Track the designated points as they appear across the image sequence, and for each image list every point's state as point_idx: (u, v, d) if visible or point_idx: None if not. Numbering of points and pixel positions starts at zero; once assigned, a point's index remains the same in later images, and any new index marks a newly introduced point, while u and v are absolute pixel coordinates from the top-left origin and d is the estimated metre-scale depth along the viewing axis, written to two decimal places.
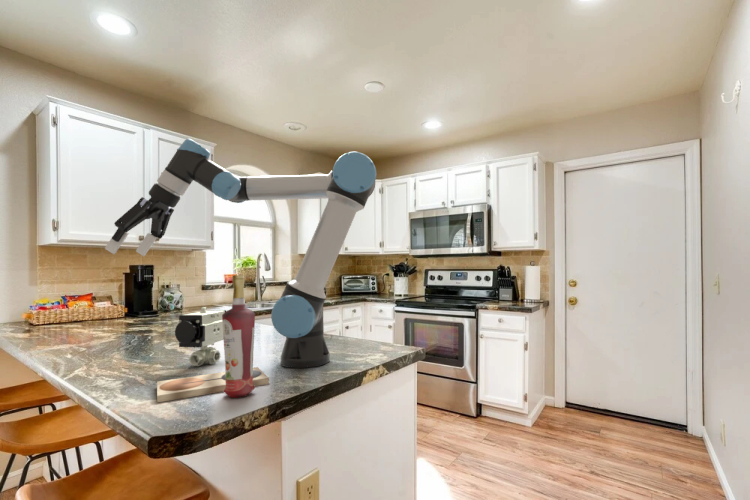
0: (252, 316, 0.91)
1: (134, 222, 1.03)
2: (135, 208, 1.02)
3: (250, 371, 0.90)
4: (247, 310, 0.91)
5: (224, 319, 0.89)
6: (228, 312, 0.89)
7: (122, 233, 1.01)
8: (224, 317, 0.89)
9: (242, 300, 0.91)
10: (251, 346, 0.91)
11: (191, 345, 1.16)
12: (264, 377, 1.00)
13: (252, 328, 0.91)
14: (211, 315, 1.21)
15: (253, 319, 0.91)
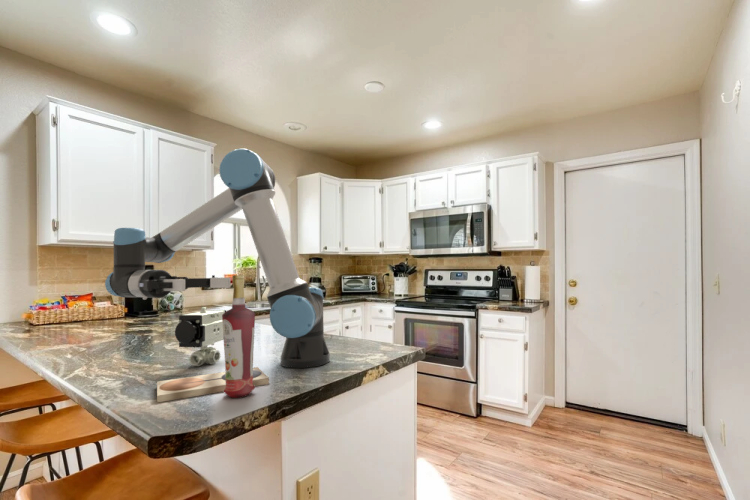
0: (252, 316, 0.91)
1: None
2: (144, 286, 0.94)
3: (250, 371, 0.90)
4: (247, 310, 0.91)
5: (224, 319, 0.89)
6: (228, 312, 0.89)
7: (162, 282, 0.91)
8: (224, 317, 0.89)
9: (242, 300, 0.91)
10: (251, 346, 0.91)
11: (191, 345, 1.16)
12: (264, 377, 1.00)
13: (252, 328, 0.91)
14: (211, 315, 1.21)
15: (253, 319, 0.91)
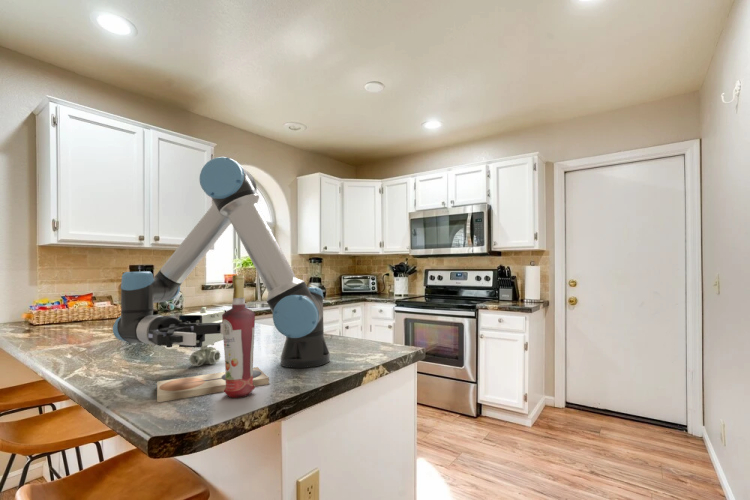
0: (252, 316, 0.91)
1: None
2: (153, 338, 0.92)
3: (250, 371, 0.90)
4: (247, 310, 0.91)
5: (224, 319, 0.89)
6: (228, 312, 0.89)
7: (172, 335, 0.88)
8: (224, 317, 0.89)
9: (242, 300, 0.91)
10: (251, 346, 0.91)
11: None
12: (264, 377, 1.00)
13: (252, 328, 0.91)
14: (211, 315, 1.21)
15: (253, 319, 0.91)
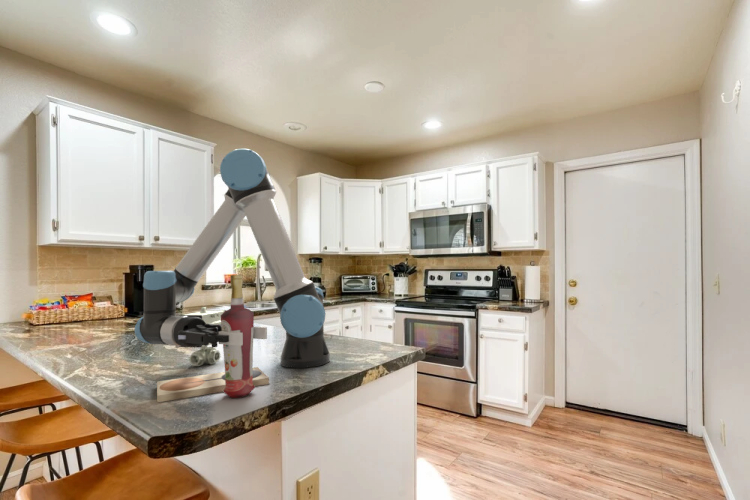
0: (251, 316, 0.90)
1: (207, 333, 0.89)
2: (188, 339, 0.89)
3: (249, 371, 0.90)
4: (246, 310, 0.90)
5: (223, 320, 0.88)
6: (226, 312, 0.89)
7: (218, 335, 0.87)
8: (223, 318, 0.88)
9: (240, 300, 0.90)
10: (251, 346, 0.90)
11: None
12: (264, 377, 1.00)
13: (251, 328, 0.90)
14: (211, 315, 1.21)
15: (252, 319, 0.91)
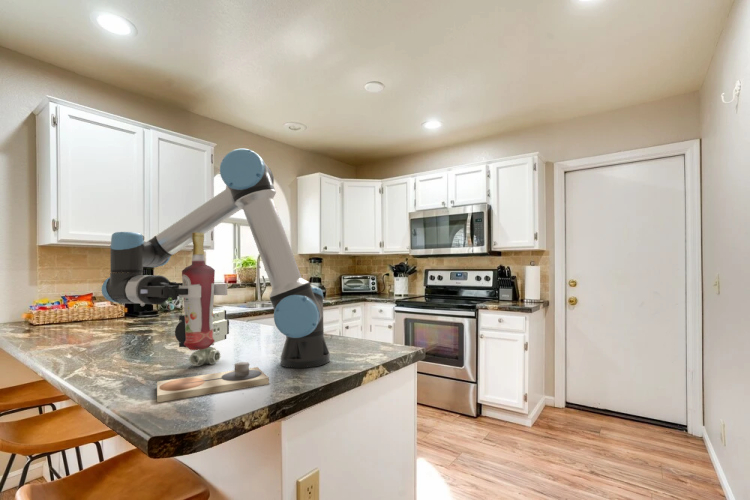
0: (211, 272, 0.94)
1: None
2: (150, 293, 0.92)
3: (209, 325, 0.93)
4: (206, 266, 0.94)
5: (183, 274, 0.92)
6: (187, 268, 0.92)
7: (178, 288, 0.90)
8: (183, 272, 0.92)
9: (201, 257, 0.94)
10: (211, 301, 0.94)
11: None
12: (264, 377, 1.00)
13: (211, 284, 0.94)
14: None
15: (212, 275, 0.94)
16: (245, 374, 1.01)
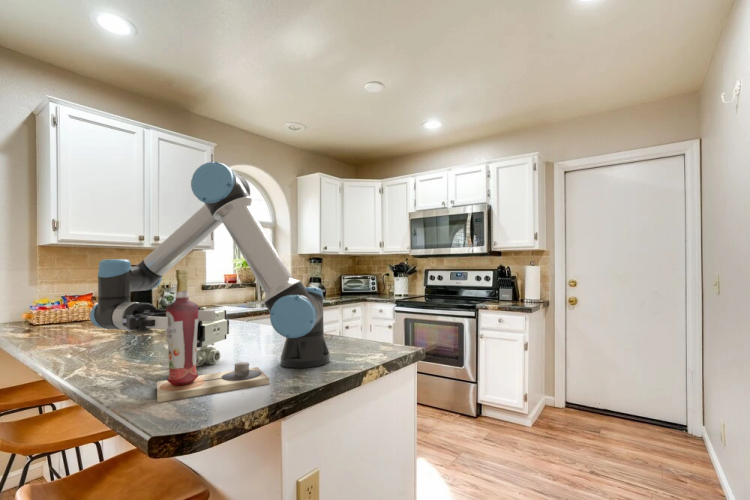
0: (194, 308, 0.96)
1: None
2: (127, 322, 0.94)
3: (192, 361, 0.95)
4: (190, 303, 0.96)
5: (167, 311, 0.94)
6: (171, 305, 0.94)
7: (145, 319, 0.90)
8: (167, 309, 0.94)
9: (185, 293, 0.96)
10: (194, 337, 0.96)
11: None
12: (264, 377, 1.00)
13: (194, 320, 0.96)
14: None
15: (196, 311, 0.96)
16: (245, 374, 1.01)
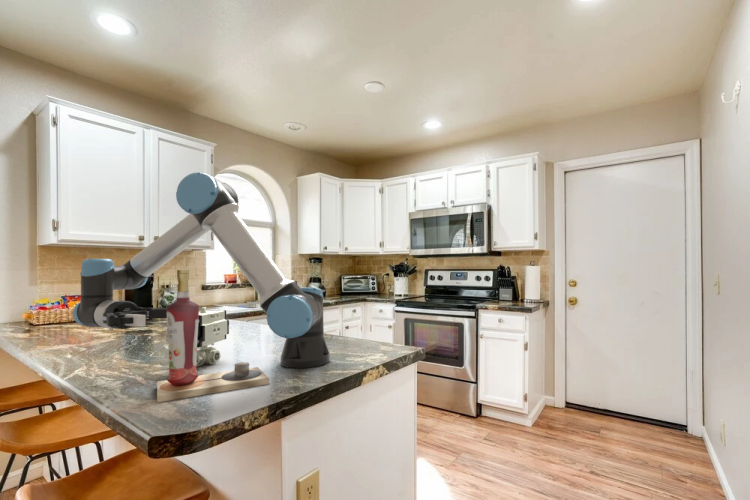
0: (195, 309, 0.96)
1: None
2: (106, 320, 0.96)
3: (192, 361, 0.95)
4: (190, 303, 0.96)
5: (167, 311, 0.94)
6: (171, 305, 0.94)
7: (124, 317, 0.93)
8: (167, 309, 0.94)
9: (186, 293, 0.96)
10: (194, 337, 0.96)
11: None
12: (264, 377, 1.00)
13: (195, 320, 0.96)
14: (211, 315, 1.21)
15: (196, 311, 0.96)
16: (245, 374, 1.01)
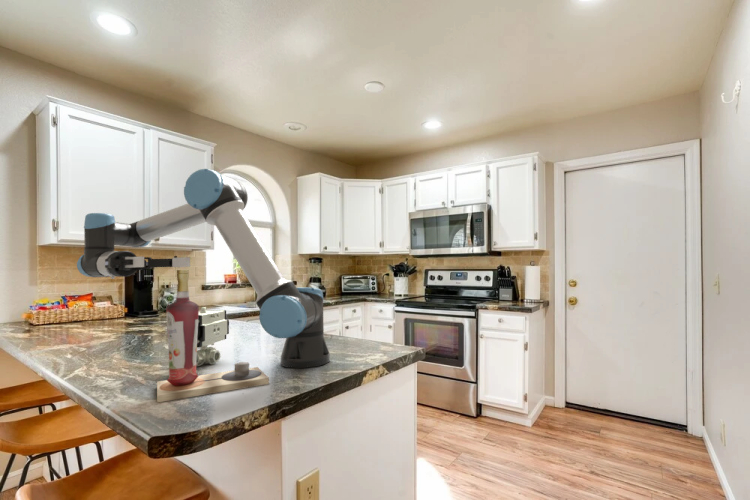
0: (195, 309, 0.96)
1: None
2: (108, 264, 1.04)
3: (192, 361, 0.95)
4: (190, 303, 0.96)
5: (167, 311, 0.94)
6: (171, 305, 0.94)
7: (124, 259, 1.01)
8: (167, 309, 0.94)
9: (186, 293, 0.96)
10: (194, 337, 0.96)
11: None
12: (264, 377, 1.00)
13: (195, 320, 0.96)
14: (211, 315, 1.21)
15: (196, 311, 0.96)
16: (245, 374, 1.01)
